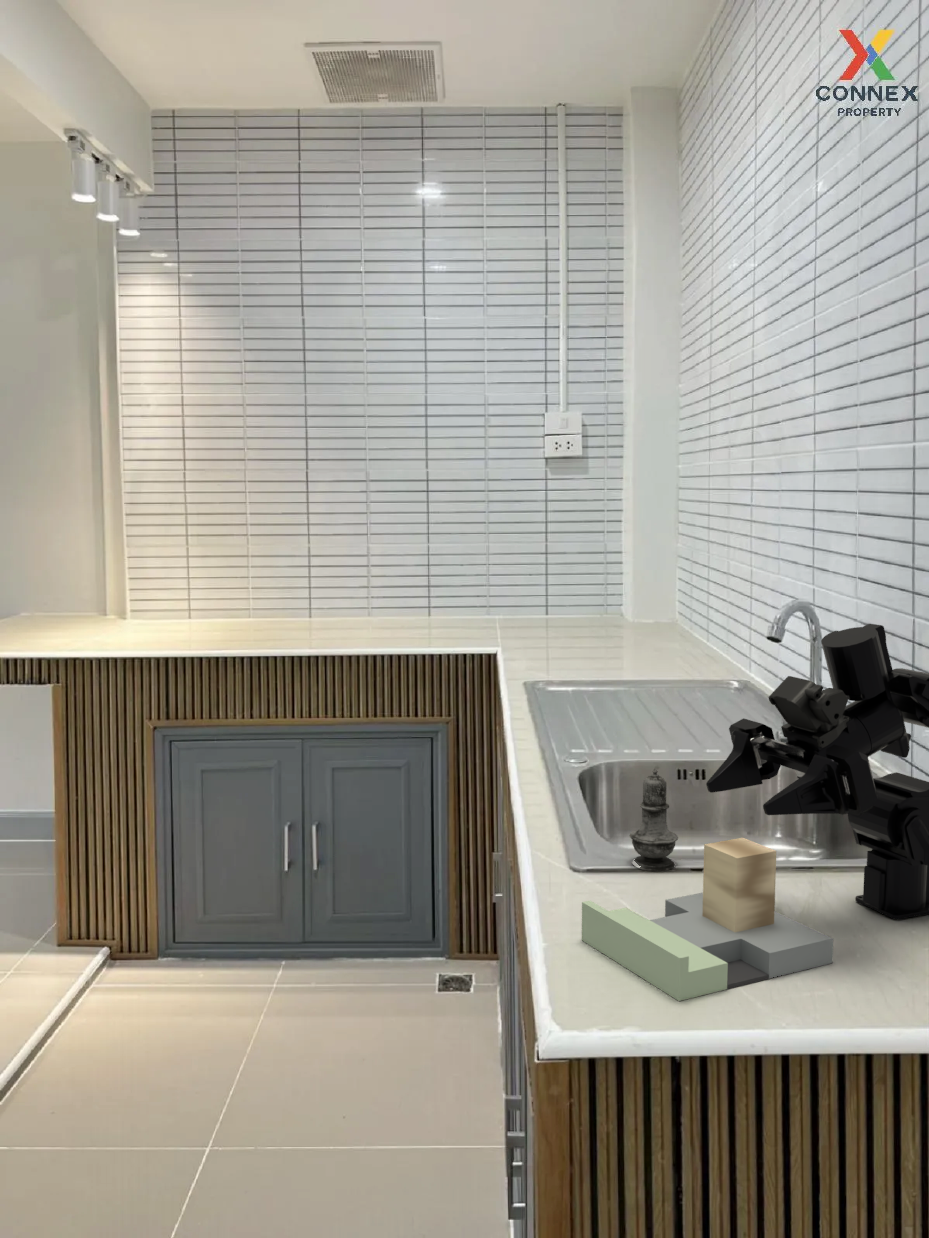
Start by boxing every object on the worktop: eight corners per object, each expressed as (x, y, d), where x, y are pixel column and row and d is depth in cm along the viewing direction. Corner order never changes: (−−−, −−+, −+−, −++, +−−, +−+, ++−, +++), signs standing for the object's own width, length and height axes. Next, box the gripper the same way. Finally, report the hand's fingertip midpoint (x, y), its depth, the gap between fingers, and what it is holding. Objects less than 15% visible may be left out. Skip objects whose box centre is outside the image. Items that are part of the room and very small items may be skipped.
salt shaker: (644, 874, 139) (646, 775, 138) (620, 859, 145) (621, 765, 143) (686, 868, 141) (689, 771, 140) (661, 854, 147) (663, 760, 145)
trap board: (724, 910, 127) (725, 874, 127) (832, 962, 113) (833, 923, 113) (581, 939, 119) (581, 901, 118) (679, 1000, 105) (679, 958, 104)
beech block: (740, 907, 121) (742, 837, 120) (774, 923, 117) (776, 850, 116) (702, 915, 119) (704, 844, 118) (734, 932, 114) (737, 858, 114)
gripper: (774, 653, 129) (661, 710, 124) (900, 678, 112) (776, 746, 107) (797, 743, 132) (689, 802, 127) (924, 780, 115) (805, 851, 110)
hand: (735, 798), depth 118 cm, fingers open, 9 cm apart
